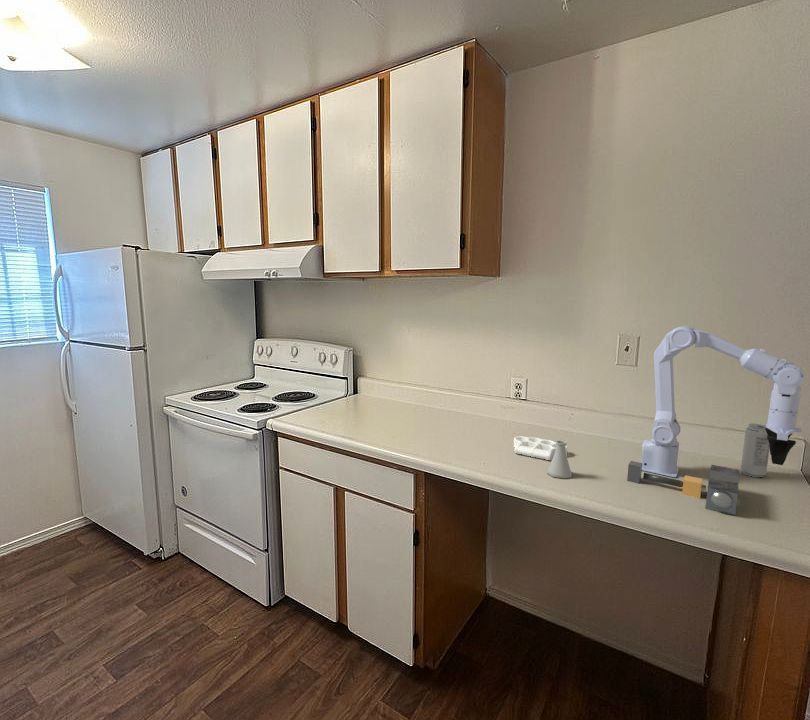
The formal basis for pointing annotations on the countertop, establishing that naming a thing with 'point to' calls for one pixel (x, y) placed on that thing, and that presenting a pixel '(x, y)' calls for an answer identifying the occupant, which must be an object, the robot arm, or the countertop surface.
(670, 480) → the bar with block ends
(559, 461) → the flask
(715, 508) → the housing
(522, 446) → the white egg tray
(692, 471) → the countertop surface
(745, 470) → the energy drink can
